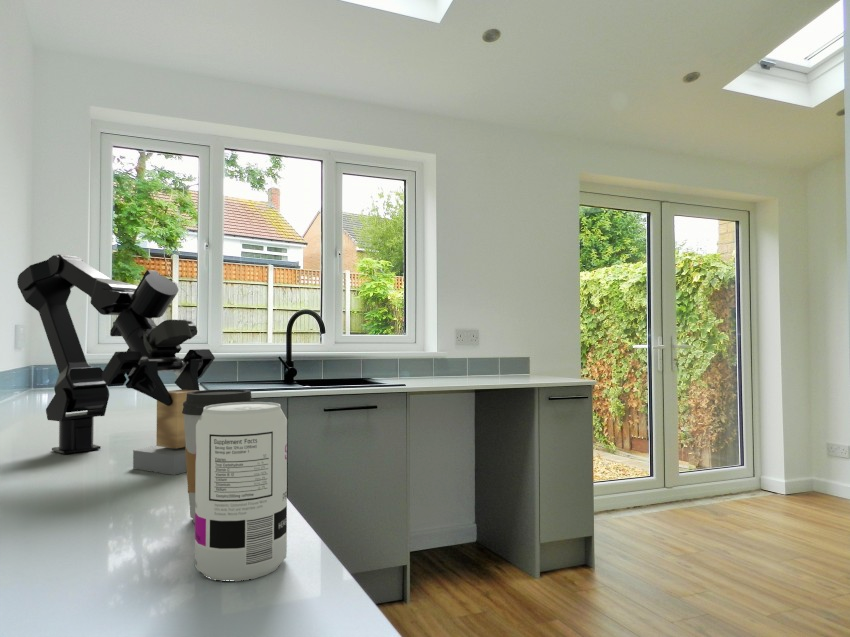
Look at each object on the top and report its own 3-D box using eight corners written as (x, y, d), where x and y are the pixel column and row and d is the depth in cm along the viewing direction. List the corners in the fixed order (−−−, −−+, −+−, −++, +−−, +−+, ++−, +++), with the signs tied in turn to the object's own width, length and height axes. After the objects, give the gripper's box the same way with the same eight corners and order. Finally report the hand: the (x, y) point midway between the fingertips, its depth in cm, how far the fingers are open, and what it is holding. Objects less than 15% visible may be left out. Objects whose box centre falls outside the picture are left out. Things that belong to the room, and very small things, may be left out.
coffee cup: (241, 529, 65) (242, 395, 65) (168, 529, 65) (168, 395, 66) (264, 507, 73) (264, 388, 74) (198, 507, 73) (199, 388, 74)
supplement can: (175, 574, 53) (176, 408, 53) (242, 545, 60) (243, 399, 60) (240, 592, 49) (241, 413, 49) (304, 559, 56) (304, 403, 57)
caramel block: (156, 445, 97) (156, 392, 97) (181, 441, 101) (182, 389, 102) (176, 448, 95) (177, 393, 95) (201, 443, 99) (201, 390, 99)
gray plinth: (133, 468, 96) (133, 450, 96) (184, 457, 105) (184, 440, 105) (173, 474, 91) (174, 455, 91) (223, 462, 100) (223, 445, 100)
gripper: (113, 301, 92) (159, 372, 87) (208, 306, 109) (251, 366, 103) (83, 350, 96) (125, 421, 90) (179, 347, 112) (219, 408, 107)
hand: (185, 402), depth 98 cm, fingers open, 5 cm apart
